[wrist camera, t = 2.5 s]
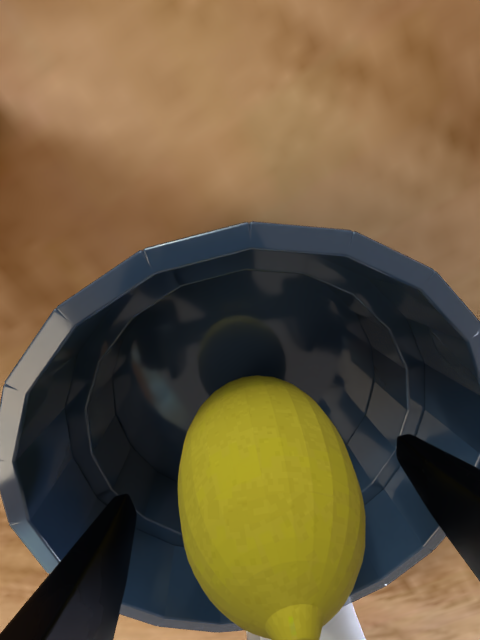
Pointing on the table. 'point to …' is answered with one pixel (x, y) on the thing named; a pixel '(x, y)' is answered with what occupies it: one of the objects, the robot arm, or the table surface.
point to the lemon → (270, 509)
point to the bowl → (223, 367)
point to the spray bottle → (335, 627)
